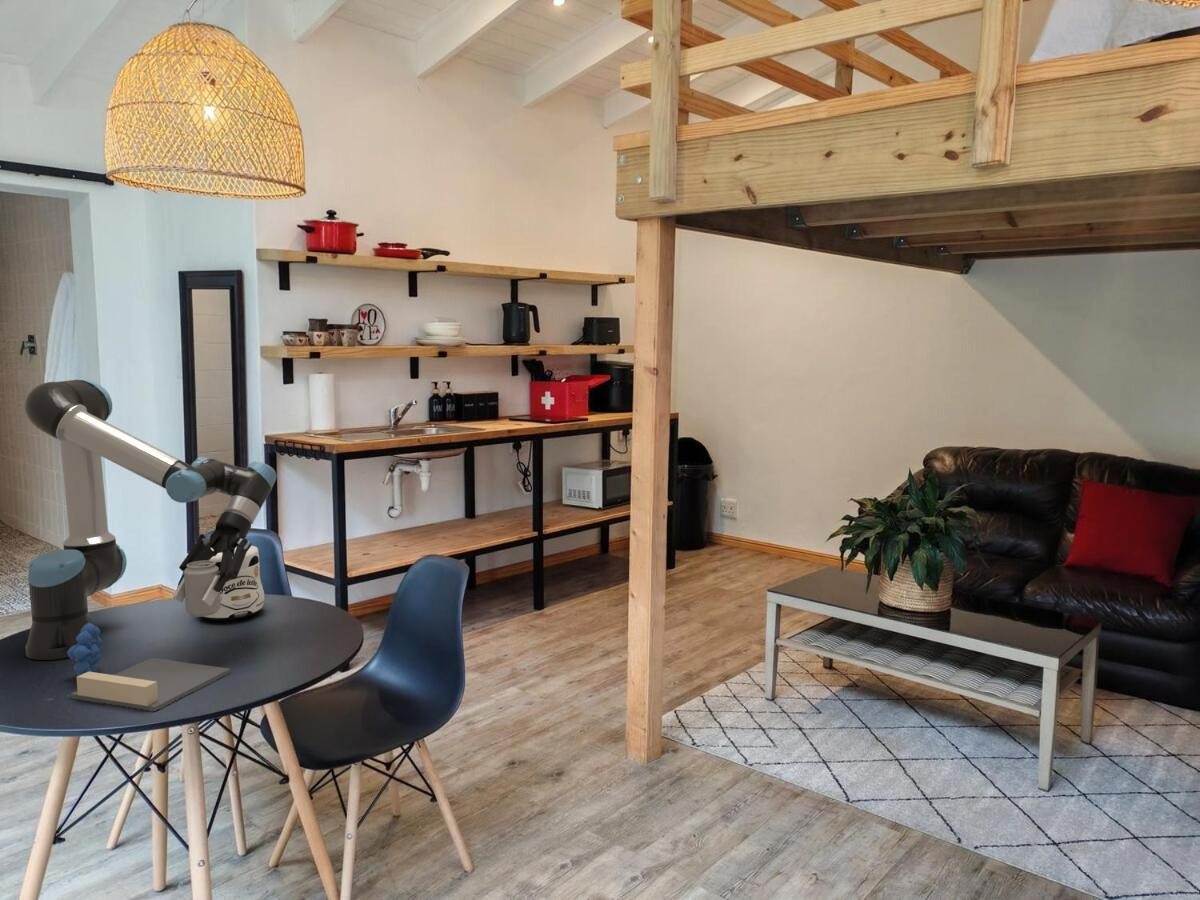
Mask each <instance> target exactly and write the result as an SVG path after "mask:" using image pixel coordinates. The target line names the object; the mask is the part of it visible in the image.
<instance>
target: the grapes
mask: <svg viewBox="0 0 1200 900" xmlns="http://www.w3.org/2000/svg"><path fill="white" fill-rule="evenodd" d="M80 631H81V632H80V633H79V634H78V636H77V637H76V641H77V642H78V644H77V645H74V646H72V647H71V648H70V649H69V650H68V652H67V654H68V656H69V657H68V658H70V659H71V660H73V661H75V662H76V663H75V664H74V665H73V669H74V671H75V672H76V676H79V675H82V674H84V673H86V672H95V673H98V670H99V668H98V666H97V664H98V663H99V662H100V661H101V659H102V658H103V657H102V655H101V654H100V652H101V649H100V647H102V645H103V644H104V643H103V641H102V639H101V638H100V637H99V636H100V634H101V632H102V631H101V630H100V628H99V627H98V626H97V625H94V623H92V624H91V623H87V624H85V625H84V626H83V628H82V629H81V630H80Z"/></svg>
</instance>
